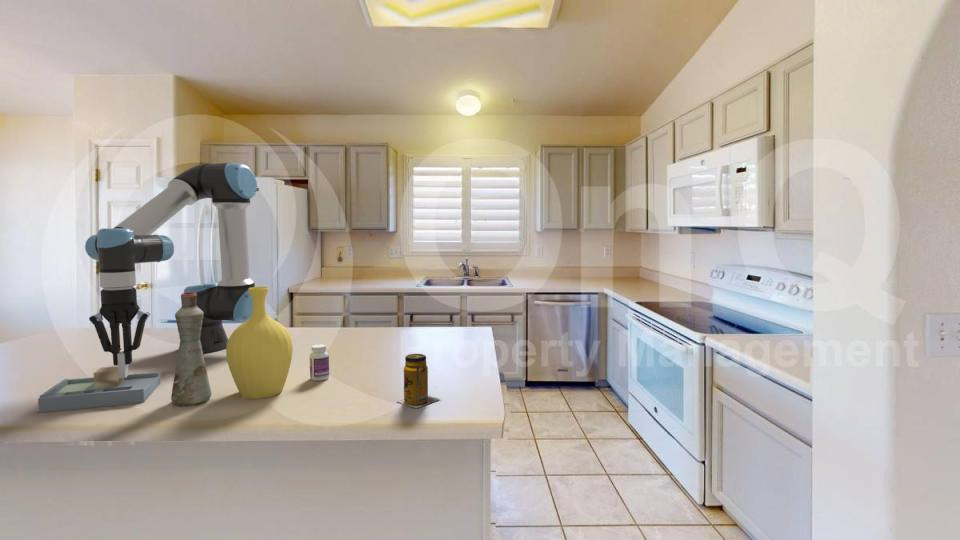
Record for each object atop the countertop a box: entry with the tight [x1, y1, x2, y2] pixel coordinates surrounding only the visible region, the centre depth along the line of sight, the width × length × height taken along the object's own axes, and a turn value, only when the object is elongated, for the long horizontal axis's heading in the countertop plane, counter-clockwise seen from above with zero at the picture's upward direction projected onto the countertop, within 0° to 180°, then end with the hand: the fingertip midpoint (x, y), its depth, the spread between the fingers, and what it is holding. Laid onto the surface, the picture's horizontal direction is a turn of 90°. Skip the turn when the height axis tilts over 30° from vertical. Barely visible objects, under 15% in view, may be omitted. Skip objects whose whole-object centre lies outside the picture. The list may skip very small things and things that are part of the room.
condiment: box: [397, 353, 440, 409], centre depth 125 cm, size 7×8×12 cm
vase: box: [225, 286, 294, 400], centre depth 130 cm, size 16×16×28 cm
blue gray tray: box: [37, 371, 161, 414], centre depth 126 cm, size 21×15×4 cm
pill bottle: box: [309, 344, 330, 382], centre depth 143 cm, size 5×5×10 cm
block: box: [92, 365, 124, 388], centre depth 129 cm, size 5×5×4 cm
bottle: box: [170, 291, 212, 407], centre depth 122 cm, size 9×9×28 cm
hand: (123, 376), depth 130 cm, fingers closed
